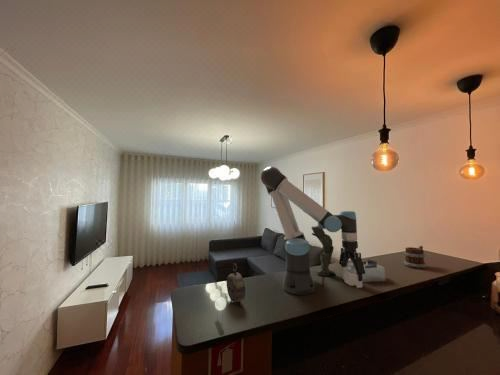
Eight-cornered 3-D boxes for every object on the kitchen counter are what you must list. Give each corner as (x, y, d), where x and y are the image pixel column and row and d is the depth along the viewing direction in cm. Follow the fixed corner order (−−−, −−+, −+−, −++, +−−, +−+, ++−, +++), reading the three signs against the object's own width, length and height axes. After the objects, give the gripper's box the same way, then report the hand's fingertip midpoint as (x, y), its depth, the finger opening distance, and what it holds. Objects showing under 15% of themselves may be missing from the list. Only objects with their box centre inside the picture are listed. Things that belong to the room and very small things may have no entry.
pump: (350, 285, 105) (349, 266, 105) (344, 282, 109) (343, 264, 110) (359, 284, 105) (358, 266, 106) (353, 281, 110) (352, 263, 111)
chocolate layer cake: (398, 265, 138) (399, 242, 140) (412, 266, 143) (412, 244, 145) (418, 270, 127) (419, 245, 129) (432, 271, 132) (432, 247, 134)
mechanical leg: (339, 271, 125) (324, 222, 128) (343, 275, 118) (328, 223, 121) (316, 276, 126) (303, 228, 129) (319, 280, 119) (305, 229, 122)
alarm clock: (246, 307, 83) (246, 265, 85) (234, 310, 81) (233, 267, 82) (235, 296, 93) (235, 259, 94) (224, 299, 90) (224, 261, 92)
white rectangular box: (361, 282, 109) (360, 263, 110) (348, 275, 120) (348, 258, 120) (388, 280, 111) (387, 262, 112) (373, 273, 122) (372, 257, 123)
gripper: (371, 243, 98) (375, 291, 96) (343, 236, 122) (345, 275, 119) (357, 244, 97) (360, 292, 95) (331, 237, 120) (333, 275, 118)
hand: (352, 283), depth 107 cm, fingers open, 11 cm apart
